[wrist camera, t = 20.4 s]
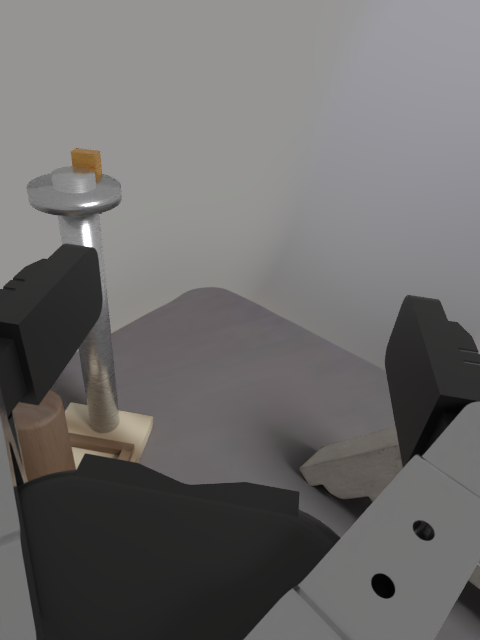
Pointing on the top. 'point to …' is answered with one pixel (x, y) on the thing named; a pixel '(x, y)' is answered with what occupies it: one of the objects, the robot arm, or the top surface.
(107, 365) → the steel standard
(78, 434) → the seat board
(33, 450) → the wooden block
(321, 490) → the top surface
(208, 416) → the top surface
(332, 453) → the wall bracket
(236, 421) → the top surface
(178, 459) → the top surface
